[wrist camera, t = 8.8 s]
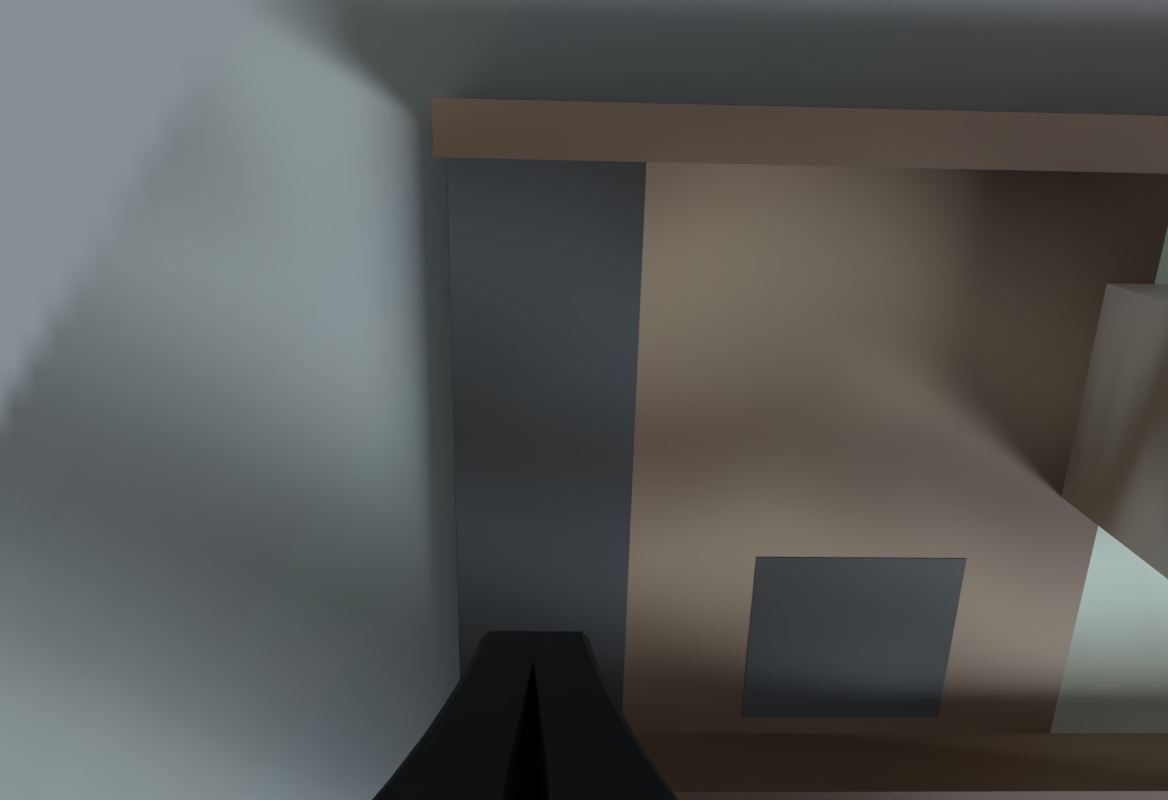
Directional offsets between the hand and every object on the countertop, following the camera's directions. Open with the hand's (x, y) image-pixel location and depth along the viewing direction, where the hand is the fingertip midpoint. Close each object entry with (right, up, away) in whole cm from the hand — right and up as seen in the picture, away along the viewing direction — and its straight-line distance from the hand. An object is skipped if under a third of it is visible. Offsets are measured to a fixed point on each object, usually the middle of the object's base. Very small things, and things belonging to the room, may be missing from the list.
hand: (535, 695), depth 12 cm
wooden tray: (+10, +2, +9) cm, 14 cm away
